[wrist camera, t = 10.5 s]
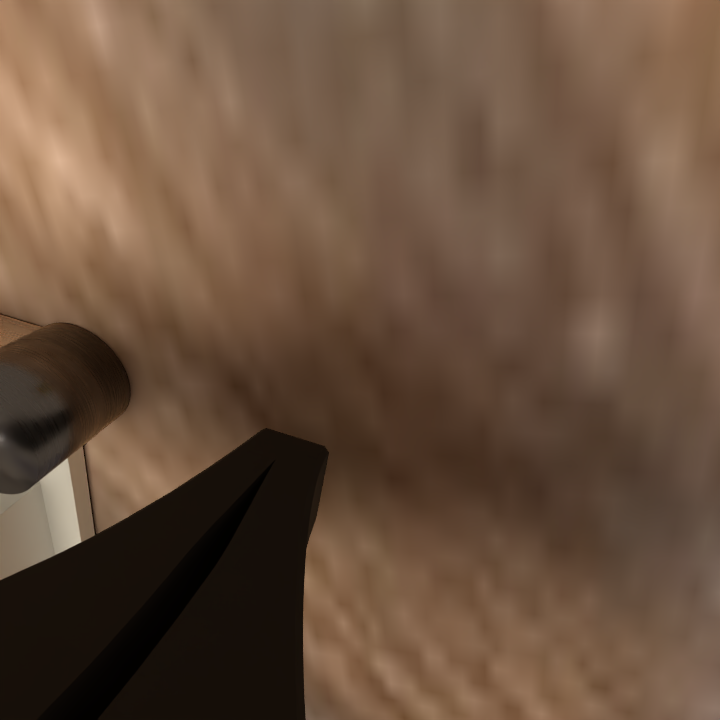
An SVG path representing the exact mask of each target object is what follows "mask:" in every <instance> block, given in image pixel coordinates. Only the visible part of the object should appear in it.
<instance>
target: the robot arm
mask: <svg viewBox="0 0 720 720" xmlns="http://www.w3.org/2000/svg"><path fill="white" fill-rule="evenodd" d="M328 455H329V452H328V451H327V449H326V448H325V446H322V445H319V444H315V443H312V442H309V441H306V440H303V439H299V438H296V437H293V436H290V435H287V434H283V433H280V432H277V431H274V430H271V429H267V428H266V429H264V430H262V431H260V432H258V433H257V434H256V435H254V436H253V437H251V438H250V439H249V440H247V441H246V442H244V443H243V444H242V445H240V446H239V447H237V448H236V449H235V450H233V451H232V452H230V453H229V454H228V455H226V456H225V457H223V458H222V459H220V460H219V461H217V462H216V463H214V464H213V465H212V466H210V467H209V468H207V469H206V470H204V471H202V472H201V473H199V474H198V475H196V476H195V477H193V478H192V479H190V480H189V481H187V482H186V483H184V484H182V485H181V486H179V487H178V488H176V489H175V490H173V491H171V492H170V493H168V494H167V495H165V496H163V497H162V498H160V499H158V500H156V501H155V502H153V503H151V504H150V505H148V506H146V507H145V508H143V509H141V510H139V511H138V512H136V513H134V514H133V515H131V516H129V517H128V518H126V519H124V520H122V521H120V522H119V523H117V524H115V525H113V526H111V527H109V528H107V529H106V530H104V531H102V532H100V533H98V534H96V535H94V536H92V537H90V538H89V539H87V540H85V541H83V542H81V543H79V544H77V545H75V546H73V547H71V548H69V549H67V550H65V551H62V552H60V553H58V554H56V555H54V556H52V557H50V558H48V559H46V560H43V561H41V562H39V563H37V564H35V565H32V566H30V567H28V568H26V569H24V570H21V571H19V572H17V573H15V574H13V575H10V576H8V577H6V578H4V579H2V580H0V720H306V719H305V702H304V673H303V597H304V576H305V559H306V547H307V544H308V541H309V537H310V534H311V531H312V528H313V525H314V523H315V520H316V516H317V511H318V506H319V501H320V496H321V491H322V486H323V480H324V475H325V470H326V465H327V460H328Z"/></svg>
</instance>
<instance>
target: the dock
mask: <svg viewBox="0 0 720 720" xmlns="http://www.w3.org/2000/svg"><path fill="white" fill-rule="evenodd" d="M94 535H95V532H94V525H93V517H92V510H91V503H90V496H89V488H88V481H87V474H86V466H85V459H84V452H83V446H82V447H81V448H79V449H78V450H77V451H76V452H74V453H73V454H72V455H71V456H69V457H68V458H67V459H66V460H64V461H63V462H62V463H61V464H60V465H58V466H57V467H56V468H55V469H53V470H52V471H51V472H50V473H48V474H47V475H46V476H45V477H43V478H42V479H41V480H40V481H38V482H37V483H36V484H35V485H34V486H32V487H31V488H30V489H28V490H27V491H25V492H23V493H19V494H2V493H0V580H2V579H4V578H6V577H8V576H10V575H13V574H15V573H17V572H19V571H21V570H24V569H26V568H28V567H30V566H32V565H35V564H37V563H39V562H41V561H43V560H46V559H48V558H50V557H52V556H54V555H56V554H58V553H60V552H62V551H65V550H67V549H69V548H71V547H73V546H75V545H77V544H79V543H81V542H83V541H85V540H87V539H89V538H90V537H92V536H94Z"/></svg>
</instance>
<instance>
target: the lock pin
mask: <svg viewBox="0 0 720 720" xmlns="http://www.w3.org/2000/svg"><path fill="white" fill-rule="evenodd" d="M129 398H130V388H129V382H128V378H127V376H126V373H125V371H124V369H123V367H122V365H121V363H120V361H119V360H118V358H117V357H116V356H115V354H114V353H113V352H112V351H111V350H110V348H109V347H108V346H107V345H106V344H105V343H103V342H102V341H101V340H100V339H99V338H97V337H96V336H95V335H93V334H92V333H90V332H88V331H86V330H84V329H82V328H80V327H77V326H75V325H71V324H66V323H53V324H49V325H47V326H44V327H40V326H37V325H34V324H30V323H27V322H24V321H20V320H17V319H14V318H10V317H7V316H4V315H0V493H2V494H19V493H23V492H25V491H27V490H28V489H30V488H31V487H32V486H34V485H35V484H36V483H37V482H38V481H40V480H41V479H42V478H43V477H45V476H46V475H47V474H48V473H50V472H51V471H52V470H53V469H55V468H56V467H57V466H58V465H60V464H61V463H62V462H63V461H64V460H66V459H67V458H68V457H69V456H71V455H72V454H73V453H74V452H76V451H77V450H78V449H79V448H81V447H82V446H83V445H84V444H86V443H87V442H88V441H89V440H90V439H92V438H93V437H94V436H95V435H97V434H98V433H99V432H100V431H102V430H103V429H104V428H105V427H107V426H108V425H109V424H110V423H111V422H113V421H114V420H115V419H116V418H118V417H119V416H120V415H121V414H122V413H123V412H124V411H125V409H126V408H127V406H128V403H129Z"/></svg>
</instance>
